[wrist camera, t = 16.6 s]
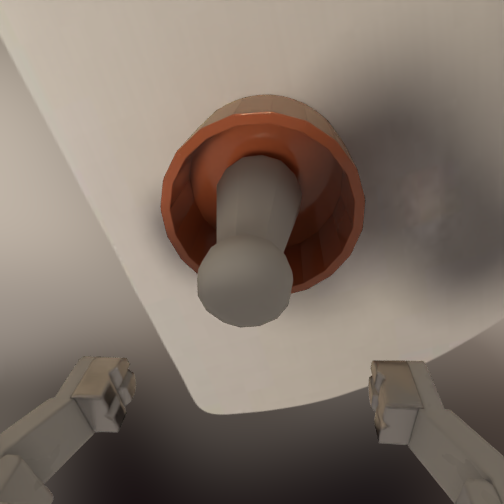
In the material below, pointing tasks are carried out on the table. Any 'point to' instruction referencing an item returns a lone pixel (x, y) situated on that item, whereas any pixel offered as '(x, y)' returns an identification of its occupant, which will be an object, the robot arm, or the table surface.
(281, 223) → the grey rounded piece
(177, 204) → the pot
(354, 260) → the table surface
